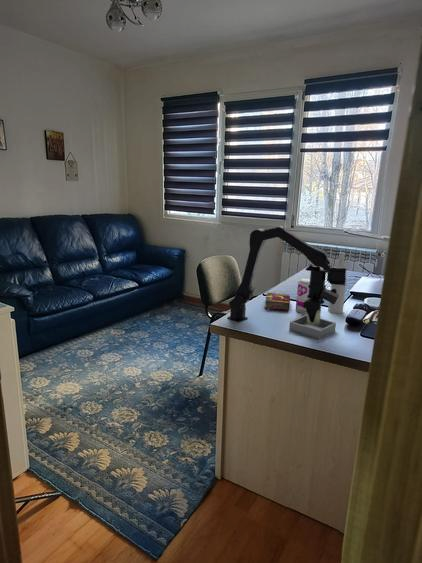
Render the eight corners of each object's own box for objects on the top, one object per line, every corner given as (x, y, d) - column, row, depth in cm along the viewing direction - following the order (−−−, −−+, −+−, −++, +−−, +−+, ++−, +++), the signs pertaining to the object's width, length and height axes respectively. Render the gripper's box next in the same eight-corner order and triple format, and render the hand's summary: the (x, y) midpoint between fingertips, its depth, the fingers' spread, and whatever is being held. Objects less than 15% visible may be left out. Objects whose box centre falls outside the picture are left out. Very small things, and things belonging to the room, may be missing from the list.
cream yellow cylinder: (315, 326, 141) (317, 311, 139) (304, 322, 144) (305, 308, 142) (321, 323, 144) (323, 309, 143) (310, 320, 147) (311, 306, 146)
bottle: (345, 312, 168) (353, 253, 161) (336, 314, 165) (343, 254, 158) (334, 308, 174) (341, 251, 167) (325, 310, 170) (331, 252, 163)
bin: (319, 339, 136) (320, 331, 135) (289, 329, 145) (289, 321, 144) (335, 331, 145) (336, 322, 144) (306, 322, 154) (306, 314, 153)
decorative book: (289, 302, 181) (289, 293, 180) (289, 312, 166) (289, 302, 165) (266, 300, 184) (267, 291, 182) (264, 310, 168) (265, 300, 167)
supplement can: (303, 314, 163) (306, 283, 159) (291, 309, 170) (294, 278, 166) (317, 312, 167) (320, 281, 163) (305, 307, 174) (307, 277, 170)
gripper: (336, 290, 128) (331, 331, 132) (341, 280, 145) (336, 316, 149) (304, 286, 133) (300, 326, 137) (313, 276, 149) (309, 312, 153)
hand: (313, 320), depth 144 cm, fingers open, 5 cm apart
